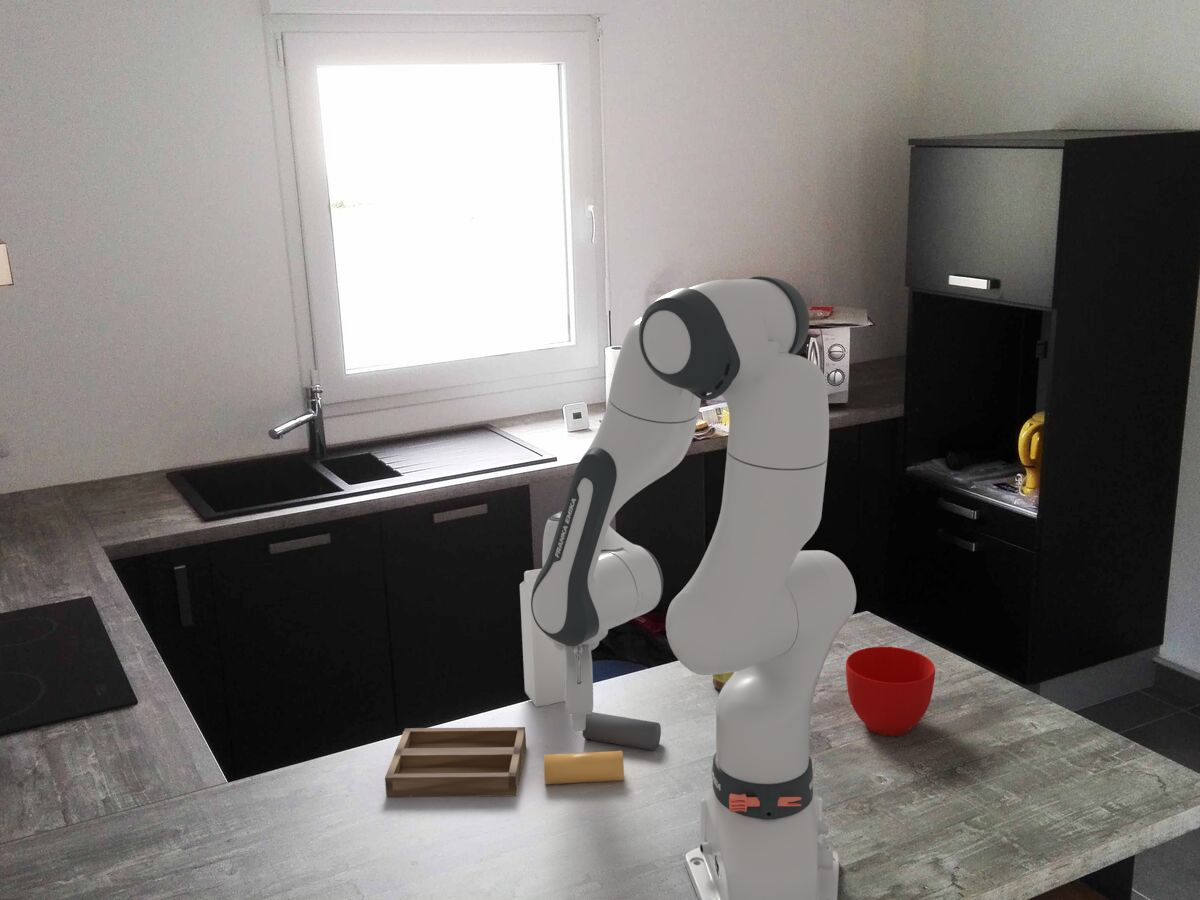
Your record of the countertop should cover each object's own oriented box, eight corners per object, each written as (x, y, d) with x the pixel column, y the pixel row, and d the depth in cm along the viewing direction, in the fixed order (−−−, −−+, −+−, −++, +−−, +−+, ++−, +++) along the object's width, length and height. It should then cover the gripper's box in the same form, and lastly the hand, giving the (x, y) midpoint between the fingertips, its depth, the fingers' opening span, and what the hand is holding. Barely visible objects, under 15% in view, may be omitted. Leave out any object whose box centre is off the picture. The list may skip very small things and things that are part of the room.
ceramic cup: (930, 697, 184) (933, 639, 182) (933, 750, 169) (936, 687, 166) (847, 691, 188) (849, 633, 185) (842, 741, 172) (843, 679, 169)
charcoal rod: (658, 750, 173) (662, 722, 173) (650, 750, 169) (654, 722, 170) (590, 738, 177) (594, 711, 177) (580, 738, 173) (584, 711, 174)
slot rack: (516, 795, 160) (515, 776, 159) (386, 797, 161) (384, 777, 160) (526, 745, 173) (525, 727, 173) (406, 746, 174) (404, 728, 173)
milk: (524, 692, 191) (517, 565, 185) (559, 685, 193) (553, 559, 187) (535, 708, 185) (529, 577, 180) (571, 700, 187) (566, 571, 182)
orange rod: (621, 753, 166) (622, 748, 163) (623, 782, 165) (624, 777, 161) (544, 757, 166) (543, 752, 162) (545, 786, 164) (544, 781, 160)
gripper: (603, 653, 150) (604, 749, 154) (595, 591, 170) (596, 677, 173) (554, 655, 150) (556, 751, 153) (551, 592, 169) (553, 679, 173)
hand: (577, 711), depth 164 cm, fingers open, 8 cm apart
